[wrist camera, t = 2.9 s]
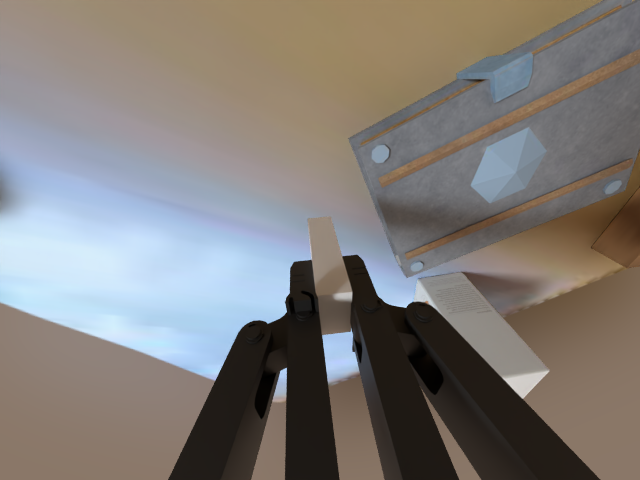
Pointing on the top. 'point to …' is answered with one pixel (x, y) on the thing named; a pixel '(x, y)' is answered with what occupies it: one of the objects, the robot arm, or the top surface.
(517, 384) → the small box
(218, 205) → the top surface
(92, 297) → the top surface
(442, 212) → the book
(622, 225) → the rail
